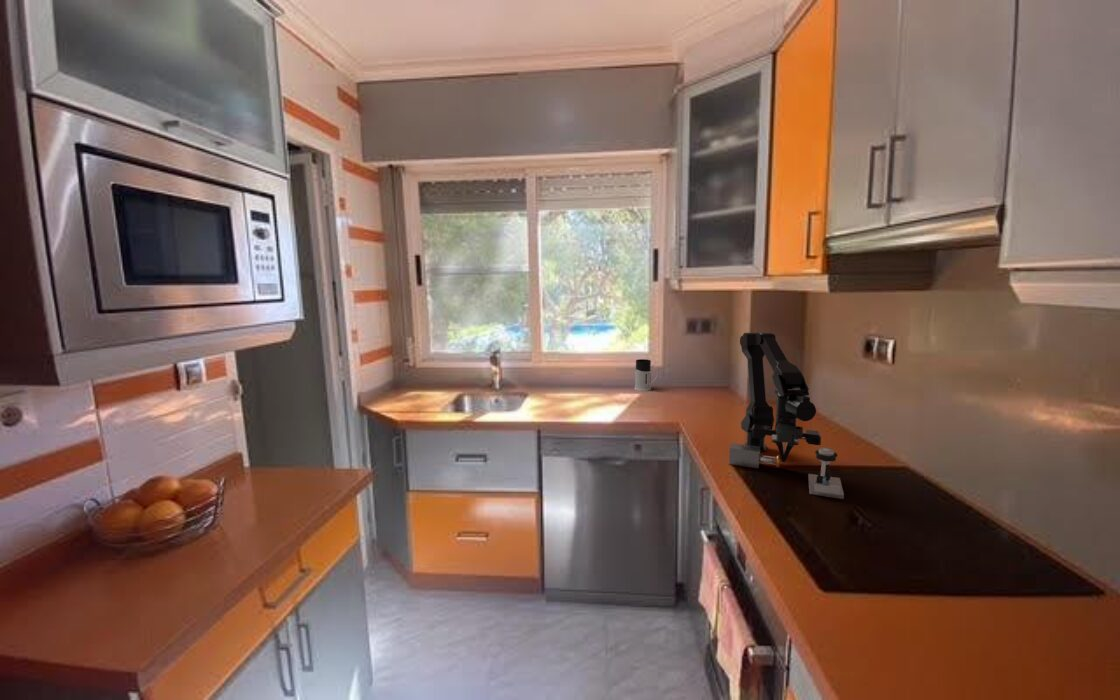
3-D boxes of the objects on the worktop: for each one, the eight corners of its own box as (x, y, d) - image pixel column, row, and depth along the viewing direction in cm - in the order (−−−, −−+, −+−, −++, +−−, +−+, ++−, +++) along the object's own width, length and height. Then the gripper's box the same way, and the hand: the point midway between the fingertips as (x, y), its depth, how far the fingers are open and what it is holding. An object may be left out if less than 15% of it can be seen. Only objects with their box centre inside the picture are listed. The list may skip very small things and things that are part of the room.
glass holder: (642, 386, 267) (642, 358, 265) (663, 390, 256) (663, 361, 254) (630, 388, 262) (631, 360, 260) (652, 393, 251) (652, 363, 249)
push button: (819, 477, 143) (821, 443, 141) (839, 483, 139) (842, 448, 137) (810, 484, 138) (812, 449, 137) (830, 490, 134) (833, 454, 133)
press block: (730, 458, 161) (731, 443, 160) (759, 462, 158) (760, 446, 157) (729, 464, 157) (729, 448, 156) (758, 468, 153) (759, 451, 153)
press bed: (808, 477, 146) (808, 467, 146) (839, 482, 143) (840, 471, 142) (809, 494, 135) (810, 483, 134) (843, 499, 131) (844, 488, 131)
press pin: (748, 460, 158) (749, 450, 158) (779, 464, 155) (779, 454, 154) (747, 464, 155) (748, 453, 155) (779, 468, 152) (779, 457, 151)
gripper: (751, 415, 147) (749, 466, 149) (823, 422, 139) (819, 476, 141) (753, 406, 157) (751, 454, 159) (821, 412, 149) (817, 462, 152)
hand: (783, 461), depth 152 cm, fingers closed
